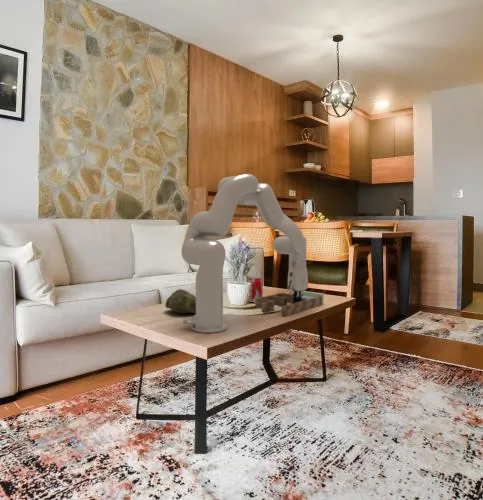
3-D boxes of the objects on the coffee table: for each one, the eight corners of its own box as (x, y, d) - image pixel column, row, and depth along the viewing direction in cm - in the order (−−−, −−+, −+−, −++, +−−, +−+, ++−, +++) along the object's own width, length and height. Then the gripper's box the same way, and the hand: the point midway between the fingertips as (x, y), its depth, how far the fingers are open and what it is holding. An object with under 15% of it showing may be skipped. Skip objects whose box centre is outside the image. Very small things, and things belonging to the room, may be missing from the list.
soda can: (261, 304, 183) (261, 278, 182) (246, 303, 185) (246, 277, 184) (263, 301, 190) (263, 276, 189) (249, 300, 191) (249, 275, 191)
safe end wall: (322, 304, 181) (322, 294, 181) (300, 301, 188) (301, 291, 188) (323, 304, 182) (323, 293, 181) (302, 301, 189) (302, 290, 189)
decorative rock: (196, 311, 175) (198, 288, 176) (206, 316, 160) (207, 291, 161) (163, 310, 170) (164, 287, 171) (169, 316, 155) (171, 290, 156)
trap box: (284, 316, 158) (284, 306, 158) (246, 309, 171) (246, 300, 171) (322, 304, 181) (322, 296, 181) (286, 299, 194) (286, 291, 193)
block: (307, 308, 175) (307, 299, 174) (296, 306, 179) (296, 297, 179) (315, 306, 179) (315, 297, 178) (304, 304, 183) (304, 295, 183)
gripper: (295, 266, 166) (294, 309, 168) (313, 263, 178) (313, 304, 179) (280, 265, 171) (280, 307, 172) (299, 262, 182) (299, 302, 184)
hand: (297, 305), depth 176 cm, fingers closed
